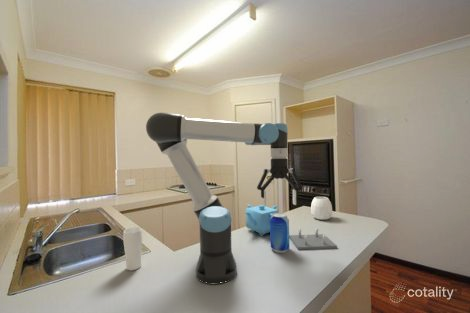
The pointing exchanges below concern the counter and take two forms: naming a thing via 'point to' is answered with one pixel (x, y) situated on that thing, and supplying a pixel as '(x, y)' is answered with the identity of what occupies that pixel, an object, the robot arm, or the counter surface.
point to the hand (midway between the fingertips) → (279, 204)
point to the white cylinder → (133, 247)
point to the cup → (321, 208)
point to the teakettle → (259, 218)
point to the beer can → (279, 232)
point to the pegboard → (312, 241)
